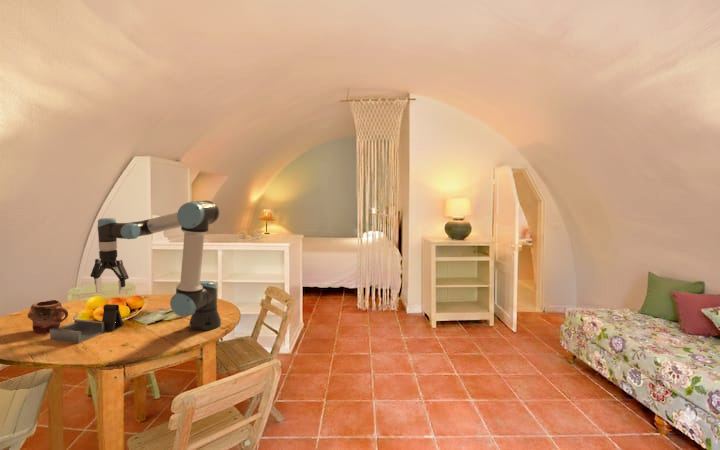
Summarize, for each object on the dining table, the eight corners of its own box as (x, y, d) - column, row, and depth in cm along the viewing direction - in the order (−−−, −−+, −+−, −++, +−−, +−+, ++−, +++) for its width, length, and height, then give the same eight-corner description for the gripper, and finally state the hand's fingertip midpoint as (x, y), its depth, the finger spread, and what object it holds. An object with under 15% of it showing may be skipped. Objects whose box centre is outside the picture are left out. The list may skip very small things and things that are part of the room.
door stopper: (112, 331, 197) (111, 307, 196) (100, 331, 197) (99, 307, 196) (123, 325, 206) (122, 302, 205) (112, 324, 206) (111, 301, 205)
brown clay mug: (79, 326, 203) (77, 299, 202) (61, 335, 191) (59, 307, 190) (40, 325, 203) (38, 298, 202) (19, 334, 191) (17, 306, 190)
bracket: (104, 332, 196) (104, 322, 195) (78, 343, 182) (77, 332, 182) (77, 329, 200) (77, 319, 199) (50, 339, 186) (49, 329, 185)
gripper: (135, 250, 198) (137, 292, 200) (93, 247, 204) (96, 288, 206) (123, 252, 191) (125, 296, 193) (80, 249, 197) (82, 292, 199)
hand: (110, 292), depth 200 cm, fingers open, 13 cm apart
